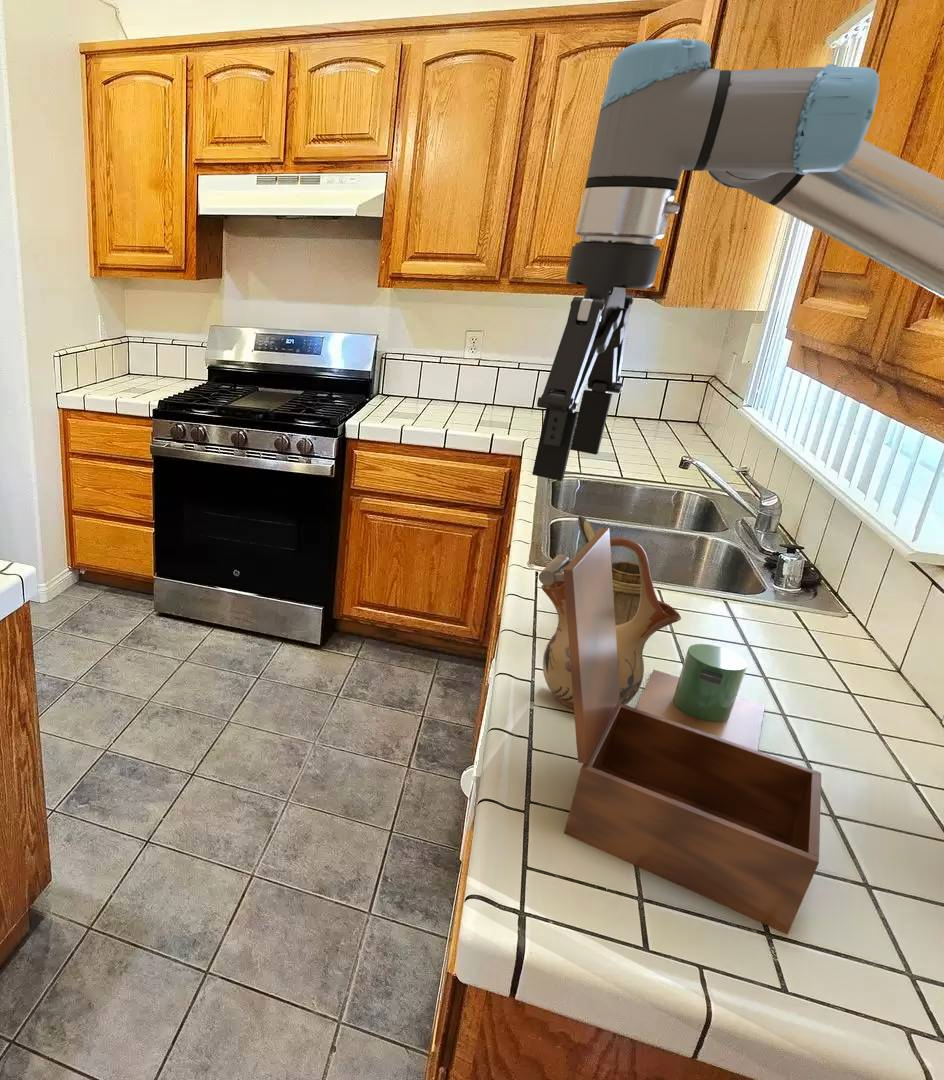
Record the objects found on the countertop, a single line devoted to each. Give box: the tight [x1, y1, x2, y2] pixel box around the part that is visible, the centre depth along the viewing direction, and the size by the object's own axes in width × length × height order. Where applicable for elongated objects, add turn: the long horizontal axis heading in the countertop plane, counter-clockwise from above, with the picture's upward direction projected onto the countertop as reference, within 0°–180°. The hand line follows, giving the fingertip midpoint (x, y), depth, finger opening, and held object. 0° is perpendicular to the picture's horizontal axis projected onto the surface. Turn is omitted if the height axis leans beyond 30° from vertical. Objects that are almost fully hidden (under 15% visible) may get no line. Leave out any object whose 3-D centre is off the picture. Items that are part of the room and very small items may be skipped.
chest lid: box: [538, 527, 620, 764], centre depth 81 cm, size 20×16×5 cm
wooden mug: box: [577, 515, 641, 625], centre depth 123 cm, size 9×14×18 cm, turn 55°
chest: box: [563, 702, 822, 935], centre depth 78 cm, size 20×16×9 cm
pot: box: [673, 643, 748, 722], centre depth 102 cm, size 7×10×8 cm
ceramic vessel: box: [540, 537, 682, 710], centre depth 98 cm, size 16×9×25 cm, turn 61°
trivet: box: [635, 669, 766, 751], centre depth 103 cm, size 14×14×1 cm
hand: (566, 464), depth 77 cm, fingers open, 13 cm apart
